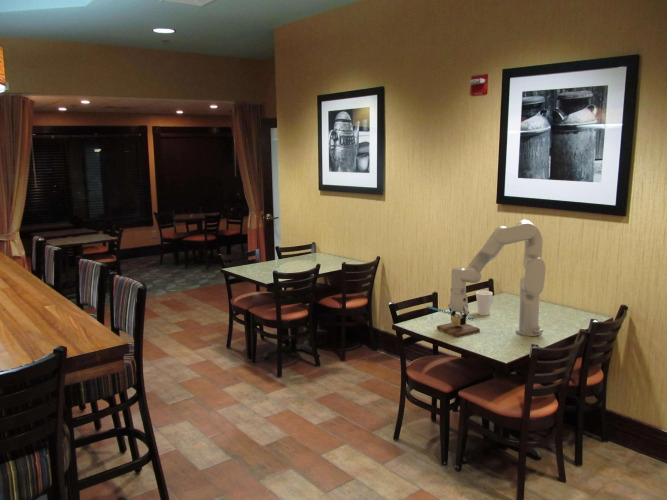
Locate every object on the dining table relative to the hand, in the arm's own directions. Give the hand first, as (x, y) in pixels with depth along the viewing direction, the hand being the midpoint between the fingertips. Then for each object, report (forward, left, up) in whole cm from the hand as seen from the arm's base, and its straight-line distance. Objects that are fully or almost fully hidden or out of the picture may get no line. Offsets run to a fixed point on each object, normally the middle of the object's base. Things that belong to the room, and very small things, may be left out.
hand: (458, 322), depth 290 cm
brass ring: (0, 0, -1) cm, 1 cm away
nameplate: (+28, -17, -5) cm, 33 cm away
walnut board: (0, 0, -5) cm, 5 cm away
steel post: (0, 0, -3) cm, 3 cm away
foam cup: (+16, -33, -5) cm, 37 cm away
